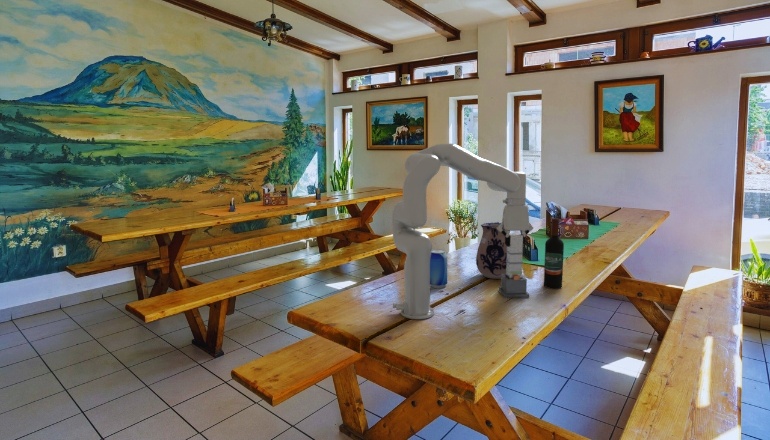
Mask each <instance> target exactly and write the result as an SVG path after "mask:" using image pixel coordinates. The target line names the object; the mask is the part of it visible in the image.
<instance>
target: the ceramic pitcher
mask: <svg viewBox="0 0 770 440" xmlns="http://www.w3.org/2000/svg"><path fill="white" fill-rule="evenodd" d="M501 223H502V222H499V221H496V222H495V221H494V222H484V223H482V224H480V226H481V229H482V236H481V238H480V242H479V245H478V248H477V251H476V257H475V264H476V268H477V271H479V273H480V274H481V275H482V276H483V277H485V278H488V279H492V280H493V279H495V280H499V279H501V275H502V274H506V266H507V261H506V259H507V246H506V244H505V236H504V235H503V234H502V233H501V232H500V231H499V230H497V227H498V226H499V225H500V224H501ZM502 230H503V231H505V229H504V228H503V227H502Z"/></svg>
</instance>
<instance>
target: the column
mask: <svg viewBox="0 0 770 440" xmlns="http://www.w3.org/2000/svg"><path fill="white" fill-rule="evenodd" d="M509 237H510V247H507V259H506V261H507V266H506V275H507V276H508V277H509V278H510V279H513V276H515V275H519V276H520V278H522V275H523V254H524V252H523V250H524V249H523V247H524V246H523V235H521V232H520V233H519V232H513V233H512V232H510V234H509Z"/></svg>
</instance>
